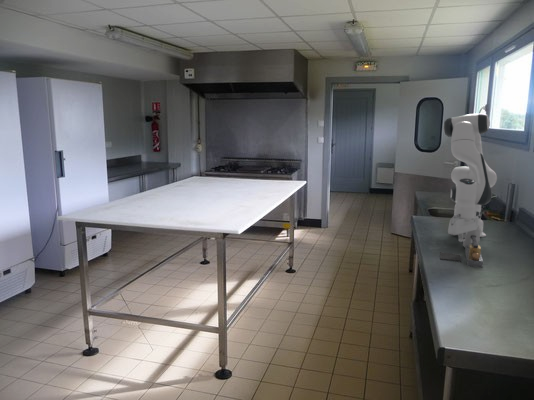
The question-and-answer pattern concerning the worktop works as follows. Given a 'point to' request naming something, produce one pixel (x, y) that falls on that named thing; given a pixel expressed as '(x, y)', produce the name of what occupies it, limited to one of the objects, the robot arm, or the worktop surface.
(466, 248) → the body
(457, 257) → the mat
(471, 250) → the brown wooden block
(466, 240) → the can
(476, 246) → the lever
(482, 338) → the worktop surface
